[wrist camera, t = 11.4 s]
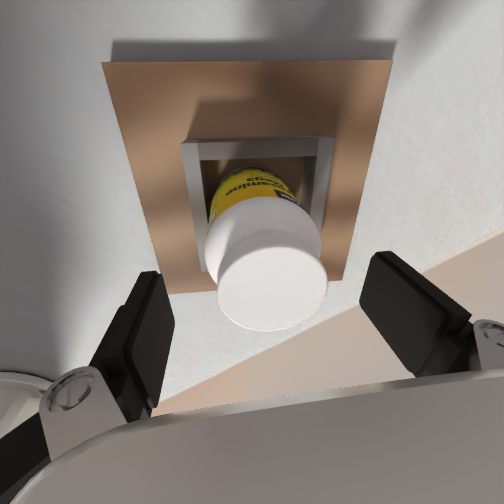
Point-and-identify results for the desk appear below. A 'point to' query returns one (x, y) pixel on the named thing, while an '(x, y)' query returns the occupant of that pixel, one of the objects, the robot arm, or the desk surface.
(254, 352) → the desk surface
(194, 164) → the carrier plate
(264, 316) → the pill bottle
